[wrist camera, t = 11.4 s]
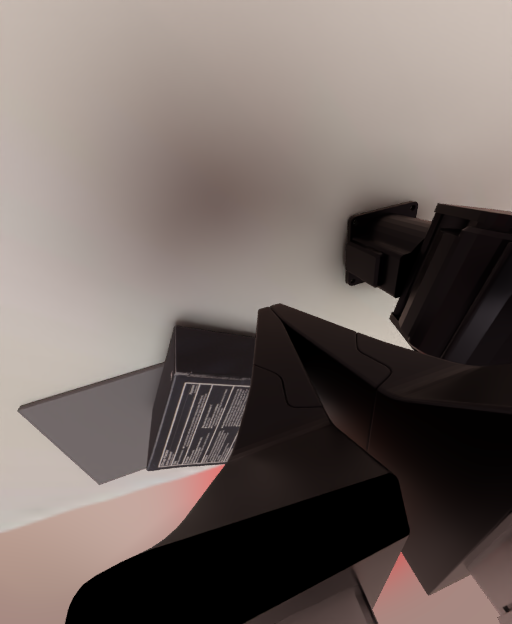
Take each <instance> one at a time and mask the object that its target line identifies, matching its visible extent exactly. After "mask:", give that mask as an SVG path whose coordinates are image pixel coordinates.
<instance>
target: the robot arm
mask: <svg viewBox="0 0 512 624" xmlns="http://www.w3.org/2000/svg"><path fill="white" fill-rule="evenodd" d="M411 206H412V208H411ZM410 208H411V209H410ZM417 209H418V203H417V202H414V201H409V202H405V203H401V204H397V205H393V206H389V207H385V208H381V209H377V210H373V211H369V212H365V213H361V214H357V215H353V216H351V217H350V219H349V221H348V240H347V245H346V283H347V284H349V285H350V286H353V285H357V284H360V283H363V282H366V283H368V284H369V285H371V286H373V287H374V288H376V287H378V288H380V289H382V290H383V291H385V292H386V293H388V294H390V295H391V296H393V297H395V298H398V297H400V298H399V300H398V302H397V305H396V307H395V309H394V312H392V313H391V315H390V318H389V319H390V320H391V322H392V323H393V324H394V325H395V327H396V328H397V329H398V331H399V332H400V333H401V335H402V336H403V337H404V338H405V340H406V341H407V342H408V344H409V345H410V346H411V347H412V349H413V350H414V351H413V350H410V349H406V348H403V347H399V346H396V345H393V344H390V343H386V342H383V341H381V340H378V339H375V338H372V337H369V336H366V335H364V334H361V333H357V334H356V332H355V331H353V330H350V329H347V328H345V327H342V326H339V325H337V324H334V323H331V322H329V321H326V320H323V319H321V318H318V317H315V316H313V315H310V314H307V313H305V312H302V311H299V310H297V309H294V308H291V307H289V306H286V305H283V304H280V303H279V304H275V305H272V306H270V307H265V308H262V309H259V310H258V318H257V328H256V338H255V348H254V359H253V367H252V377H251V383H250V389H249V393H248V398H247V402H246V405H245V409H244V412H243V416H242V420H241V423H240V427H239V430H238V434H237V437H236V441H235V444H234V447H233V450H232V453H231V455H230V457H229V459H228V461H227V463H226V464H225V466H224V467H223V469H222V470H221V471H220V473H219V474H218V475H217V477H216V478H215V479H214V480H213V482H212V483H211V485H210V486H209V487H208V489H207V490H206V491H205V492H204V494H203V495H202V497H201V498H200V499H199V500H198V502H197V503H196V505H195V506H194V507H193V508H192V510H191V511H190V512H189V514H188V515H187V516H186V518H185V519H184V520H183V521H182V523H181V524H180V525H179V526H178V527H177V528H176V529H175V530H174V531H173V532H172V533H171V534H170V535H168V536H167V537H166V538H165V539H164V540H162V541H161V542H159V543H158V544H156V545H155V546H153V547H152V548H150V549H148V550H146V551H144V552H142V553H140V554H138V555H136V556H133V557H131V558H129V559H127V560H125V561H122V562H120V563H119V564H117V565H115V566H113V567H111V568H109V569H107V570H106V571H104V572H102V573H100V574H98V575H96V576H95V577H93V578H92V579H90V580H89V581H88V582H86V583H85V584H83V586H82V587H81V588H80V589H79V590H78V592H77V593H76V595H75V596H74V598H73V600H72V602H71V604H70V606H69V609H68V613H67V617H66V622H65V624H378V622H377V619H376V617H375V615H374V612H373V610H372V609H373V607H374V605H375V603H376V601H377V599H378V597H379V595H380V593H381V591H382V589H383V587H384V585H385V583H386V581H387V579H388V577H389V575H390V573H391V571H392V568H393V567H394V564H395V562H396V560H397V558H398V556H399V554H400V552H402V554H403V555H404V557H405V559H406V560H407V562H408V563H409V565H410V567H411V568H412V570H413V572H414V573H415V575H416V577H417V578H418V580H419V582H420V583H421V585H422V586H423V588H424V590H425V591H426V593H427V594H428V595H431V594H433V593H435V592H437V591H439V590H441V589H443V588H445V587H447V586H449V585H451V584H453V583H455V582H457V581H459V580H461V579H463V578H465V577H467V576H469V575H472V576H473V578H474V579H475V580H476V582H477V584H478V585H479V586H480V588H481V589H482V591H483V592H484V593H485V595H486V596H487V598H488V599H489V600H490V602H491V603H492V604H493V606H494V607H495V609H496V610H497V611H498V613H499V614H500V616H499V617H498V620H499V622H500V624H512V212H509V211H501V210H494V209H486V208H477V207H468V206H459V205H450V204H440V203H438V204H437V206H436V209H435V211H434V212H436V213H435V215H434V218H433V220H432V221H427V220H423V219H418V218H416V215H417ZM355 220H356V223H355V224H354V221H355ZM352 279H353V280H352ZM351 280H352V281H351Z"/></svg>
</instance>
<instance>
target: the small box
mask: <svg viewBox="0 0 512 624" xmlns="http://www.w3.org/2000/svg"><path fill="white" fill-rule="evenodd" d="M254 348H255V338H252V337H246V336H239V335H233V334H225V333H219V332H213V331H207V330H200V329H193V328H186V327H180V326H175V327H174V330H173V334H172V338H171V341H170V345H169V349H168V353H167V356H166V360H165V364H164V368H163V371H162V375H161V379H160V383H159V387H158V390H157V394H156V398H155V402H154V405H153V409H152V419H151V428H150V437H149V447H148V457H147V466H146V470H147V471H154V470H160V469H169V468H178V467H187V466H189V467H190V466H204V465H219V464H226V463H227V461H228V459H229V457H230V455H231V453H232V450H233V447H234V444H235V441H236V437H237V434H238V430H239V427H240V423H241V420H242V416H243V412H244V409H245V405H246V402H247V398H248V393H249V389H250V383H251V377H252V367H253V359H254Z"/></svg>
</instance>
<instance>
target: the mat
mask: <svg viewBox="0 0 512 624" xmlns="http://www.w3.org/2000/svg"><path fill="white" fill-rule="evenodd" d="M164 364H165V362H164V363H161V364H158V365H154V366H151V367H148V368H144V369H141V370H138V371H135V372H131V373H128V374H125V375H121V376H118V377H115V378H112V379H108V380H105V381H102V382H98V383H95V384H92V385H89V386H85V387H82V388H79V389H75V390H72V391H69V392H66V393H62V394H59V395H56V396H52V397H49V398H46V399H43V400H39V401H36V402H33V403H29V404H26V405H23V406H20V408H19V409H18V412H19V413H20V414H21V415H22V416H23V417H24V418H26V419H27V420H28V421H29V422H30V423H31V424H32V425H33V426H34V427H36V428H37V429H38V430H39V431H40V432H41V433H42V434H43V435H44V436H46V437H47V438H48V439H49V440H50V441H51V442H52V443H53V444H54V445H56V446H57V447H58V448H59V449H60V450H61V451H62V452H63V453H64V454H66V455H67V456H68V457H69V458H70V459H71V460H72V461H73V462H74V463H76V464H77V465H78V466H79V467H80V468H81V469H82V470H83V471H84V472H86V473H87V474H88V475H89V476H90V477H91V478H92V479H93V480H94V481H96V482H97V483H98V484H99V485H101V484H103V483H106V482H109V481H112V480H115V479H117V478H120V477H123V476H126V475H129V474H131V473H134V472H137V471H140V470H142V469H145V468H146V466H147V457H148V447H149V437H150V428H151V419H152V409H153V405H154V402H155V398H156V394H157V390H158V387H159V383H160V379H161V375H162V371H163V368H164Z"/></svg>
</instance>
